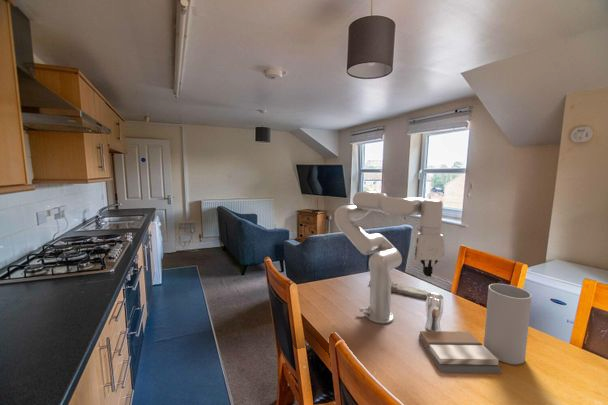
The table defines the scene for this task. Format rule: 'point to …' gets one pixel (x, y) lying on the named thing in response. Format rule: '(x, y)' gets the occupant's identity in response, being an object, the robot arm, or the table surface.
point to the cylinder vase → (507, 322)
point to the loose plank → (463, 354)
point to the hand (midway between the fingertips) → (427, 275)
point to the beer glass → (434, 311)
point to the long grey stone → (408, 290)
